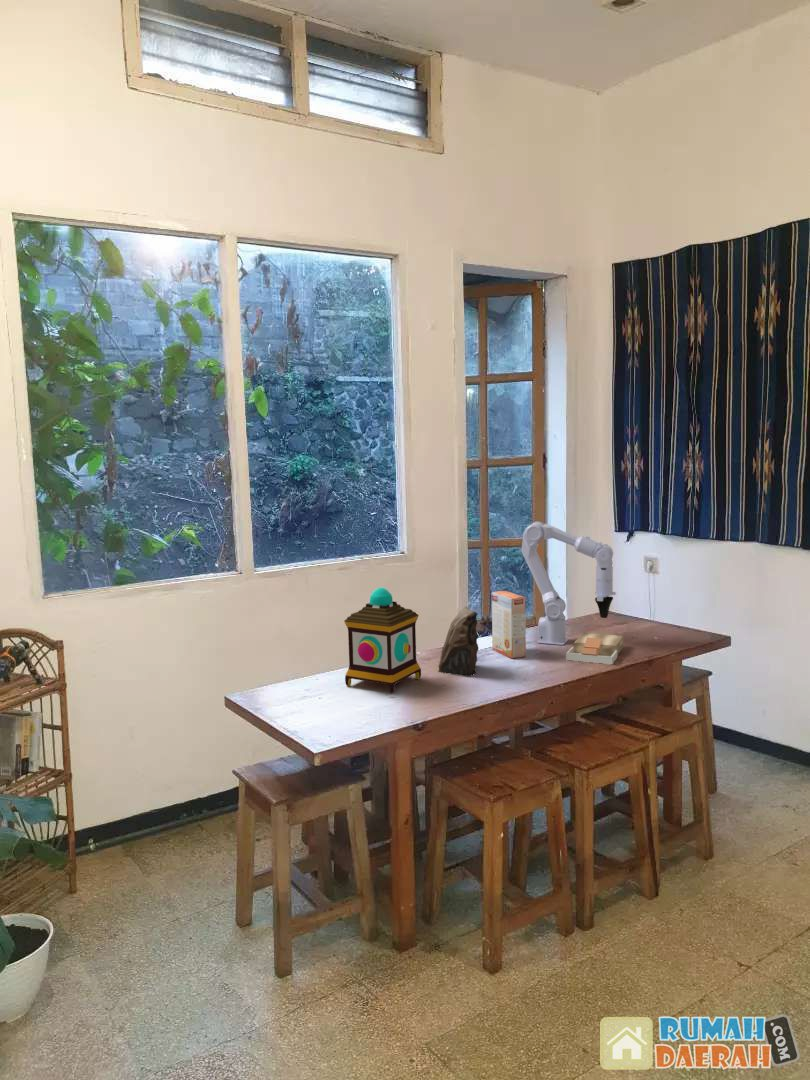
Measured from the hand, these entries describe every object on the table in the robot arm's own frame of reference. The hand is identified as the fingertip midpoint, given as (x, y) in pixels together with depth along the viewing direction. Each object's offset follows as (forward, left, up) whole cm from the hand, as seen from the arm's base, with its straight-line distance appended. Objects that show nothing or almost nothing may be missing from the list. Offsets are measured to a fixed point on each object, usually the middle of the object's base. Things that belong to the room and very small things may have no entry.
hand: (604, 617), depth 291 cm
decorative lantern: (-54, -67, -10) cm, 87 cm away
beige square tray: (0, -8, -10) cm, 13 cm away
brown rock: (-37, -47, -10) cm, 61 cm away
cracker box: (-28, -22, -10) cm, 37 cm away
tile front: (0, -21, -6) cm, 22 cm away
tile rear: (0, -17, -7) cm, 18 cm away
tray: (0, -19, -10) cm, 22 cm away
